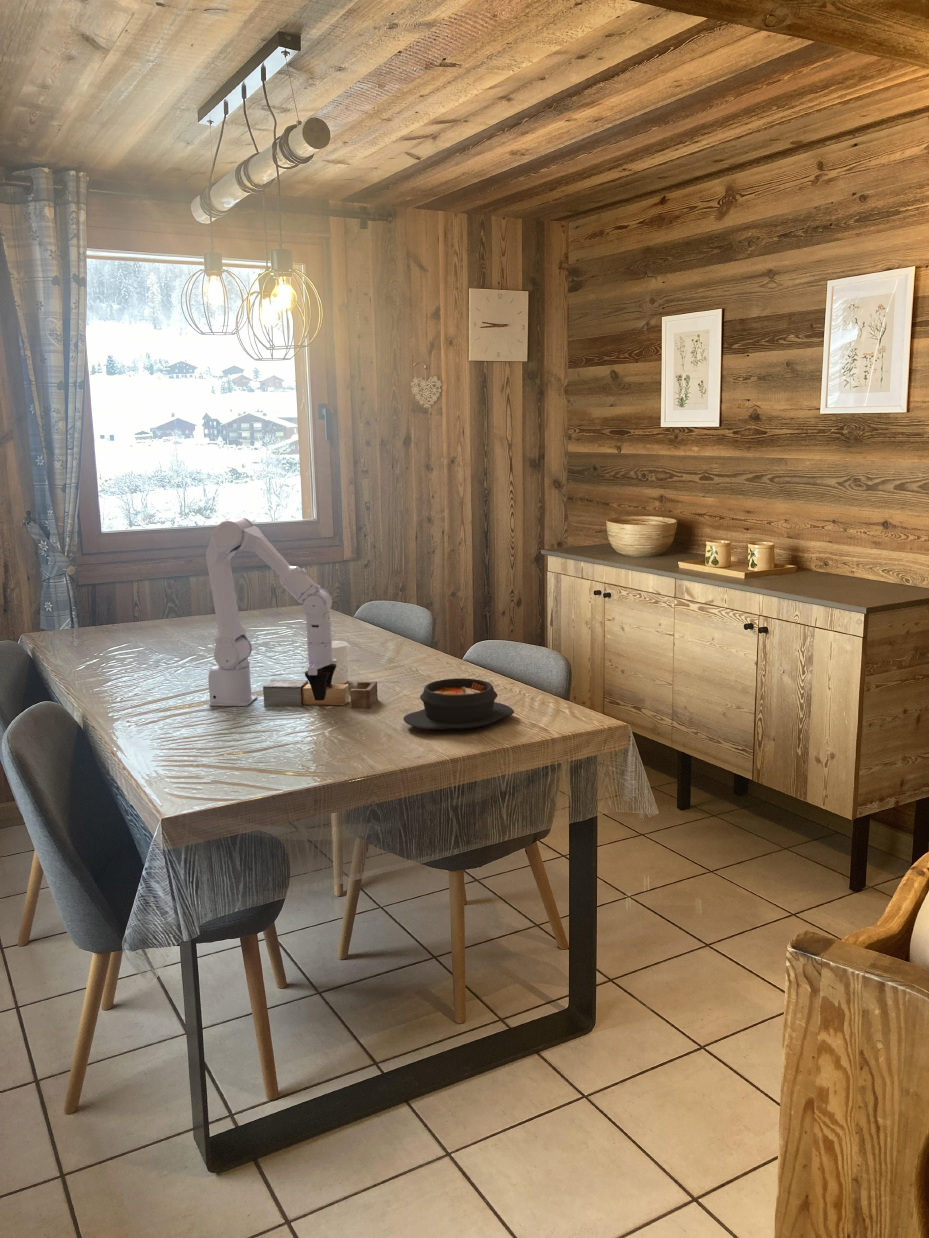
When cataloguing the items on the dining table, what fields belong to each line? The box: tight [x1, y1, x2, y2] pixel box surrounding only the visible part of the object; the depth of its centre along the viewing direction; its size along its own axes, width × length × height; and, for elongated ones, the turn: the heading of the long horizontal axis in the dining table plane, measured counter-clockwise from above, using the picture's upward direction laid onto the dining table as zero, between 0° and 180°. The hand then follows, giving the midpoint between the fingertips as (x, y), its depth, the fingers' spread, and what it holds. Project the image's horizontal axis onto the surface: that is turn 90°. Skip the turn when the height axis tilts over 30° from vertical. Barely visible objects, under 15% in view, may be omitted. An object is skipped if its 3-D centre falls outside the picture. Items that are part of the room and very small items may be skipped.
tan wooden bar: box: [301, 683, 350, 706], centre depth 233 cm, size 16×4×4 cm, turn 83°
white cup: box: [331, 640, 349, 684], centre depth 252 cm, size 8×8×10 cm
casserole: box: [403, 677, 515, 731], centre depth 214 cm, size 25×19×8 cm
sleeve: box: [262, 679, 309, 708], centre depth 234 cm, size 9×7×5 cm
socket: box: [349, 680, 379, 710], centre depth 231 cm, size 5×8×4 cm, turn 173°
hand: (322, 697), depth 233 cm, fingers closed on tan wooden bar, 4 cm apart
